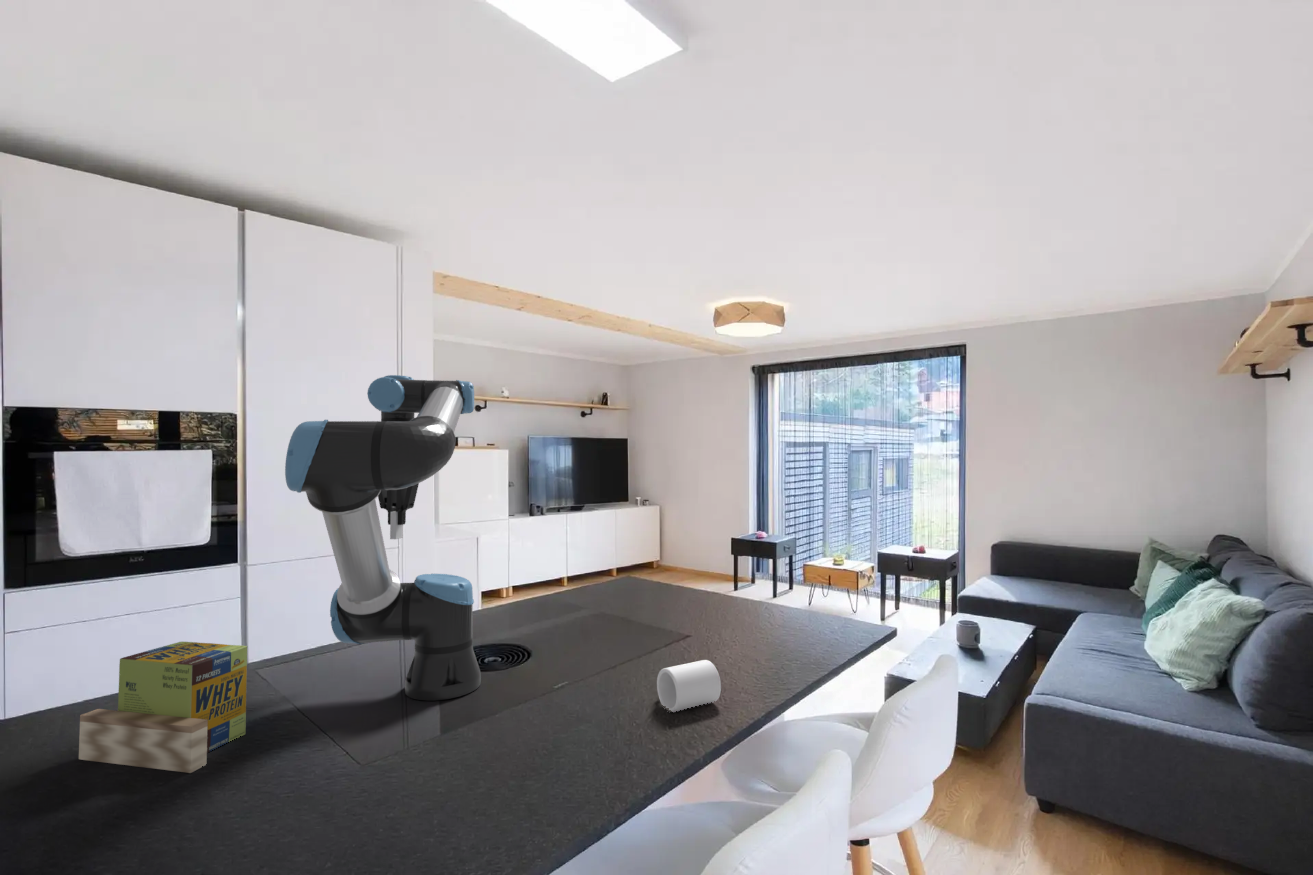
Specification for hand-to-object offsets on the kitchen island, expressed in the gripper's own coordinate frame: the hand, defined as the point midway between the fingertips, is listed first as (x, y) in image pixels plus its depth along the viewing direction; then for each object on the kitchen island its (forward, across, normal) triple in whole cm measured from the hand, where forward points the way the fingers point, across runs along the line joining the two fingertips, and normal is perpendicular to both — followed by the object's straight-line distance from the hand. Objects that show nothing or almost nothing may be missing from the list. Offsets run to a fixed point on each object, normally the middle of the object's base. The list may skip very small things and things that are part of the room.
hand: (396, 538), depth 145 cm
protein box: (+30, +10, +44) cm, 54 cm away
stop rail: (+29, +10, +50) cm, 59 cm away
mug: (+30, -71, +10) cm, 78 cm away
